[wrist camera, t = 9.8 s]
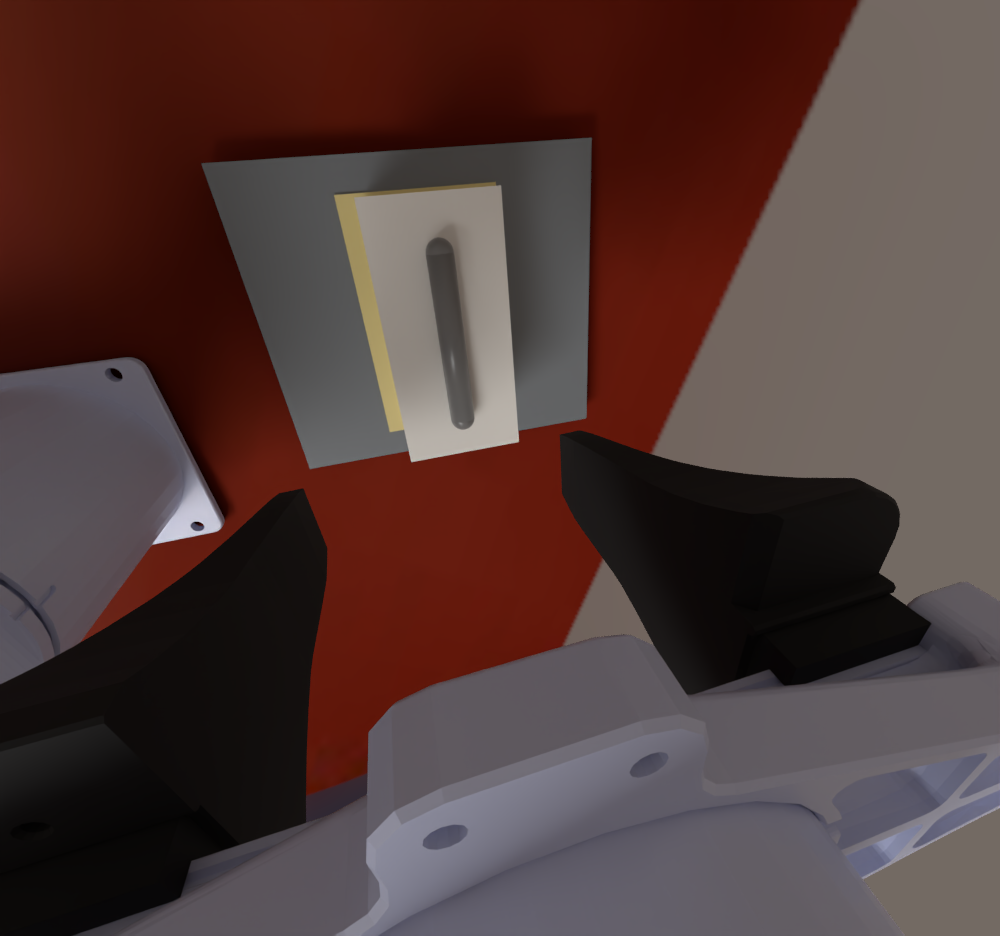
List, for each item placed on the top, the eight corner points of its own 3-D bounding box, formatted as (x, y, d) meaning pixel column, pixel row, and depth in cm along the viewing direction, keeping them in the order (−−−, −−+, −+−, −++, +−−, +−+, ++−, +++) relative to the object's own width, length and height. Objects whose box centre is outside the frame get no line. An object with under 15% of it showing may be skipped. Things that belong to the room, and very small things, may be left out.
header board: (313, 458, 20) (298, 506, 16) (212, 167, 14) (158, 146, 11) (578, 410, 22) (615, 443, 18) (580, 142, 16) (633, 118, 13)
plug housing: (405, 420, 19) (412, 472, 14) (360, 205, 15) (352, 195, 10) (494, 405, 19) (524, 451, 15) (474, 195, 15) (508, 182, 11)
